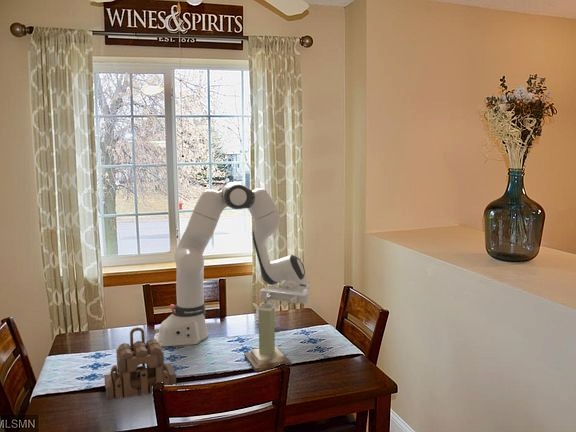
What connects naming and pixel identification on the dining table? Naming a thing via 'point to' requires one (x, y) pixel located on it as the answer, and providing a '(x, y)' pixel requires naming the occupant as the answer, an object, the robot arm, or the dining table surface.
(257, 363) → the plinth
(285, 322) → the dining table surface
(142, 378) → the wooden puzzle
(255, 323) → the water lily
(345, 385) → the dining table surface
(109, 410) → the dining table surface
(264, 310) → the olive pillar
